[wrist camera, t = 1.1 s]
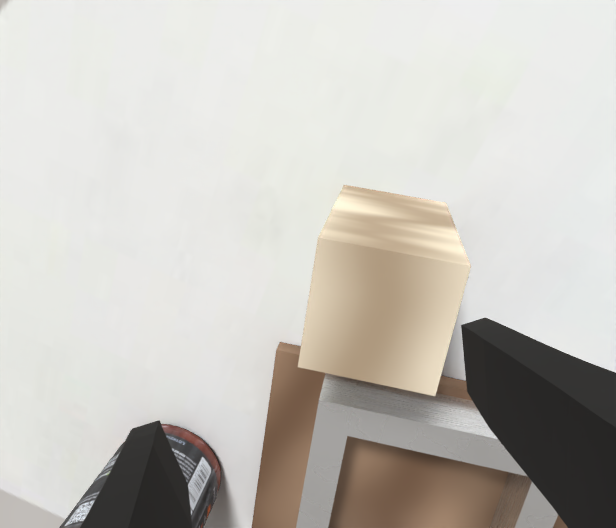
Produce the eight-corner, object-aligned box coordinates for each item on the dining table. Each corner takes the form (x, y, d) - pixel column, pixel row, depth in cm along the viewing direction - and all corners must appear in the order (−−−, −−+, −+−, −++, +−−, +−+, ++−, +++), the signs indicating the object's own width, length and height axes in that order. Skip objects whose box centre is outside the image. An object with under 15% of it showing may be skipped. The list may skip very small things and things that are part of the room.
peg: (446, 202, 22) (471, 265, 15) (423, 296, 24) (435, 396, 16) (344, 184, 23) (317, 237, 15) (328, 277, 24) (297, 366, 17)
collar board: (617, 412, 24) (649, 461, 21) (539, 595, 28) (556, 658, 25) (280, 341, 26) (264, 377, 23) (254, 524, 30) (237, 575, 27)
